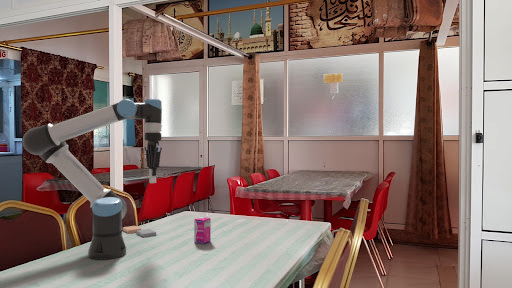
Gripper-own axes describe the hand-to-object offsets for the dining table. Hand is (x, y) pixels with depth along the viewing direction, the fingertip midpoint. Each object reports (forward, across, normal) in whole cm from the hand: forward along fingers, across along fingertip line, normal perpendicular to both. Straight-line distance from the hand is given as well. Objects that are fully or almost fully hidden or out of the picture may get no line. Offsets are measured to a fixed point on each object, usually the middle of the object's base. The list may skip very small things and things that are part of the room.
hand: (152, 182), depth 184 cm
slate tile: (+28, +15, -6) cm, 33 cm away
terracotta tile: (+28, +28, -4) cm, 40 cm away
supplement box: (+29, -12, -20) cm, 37 cm away
